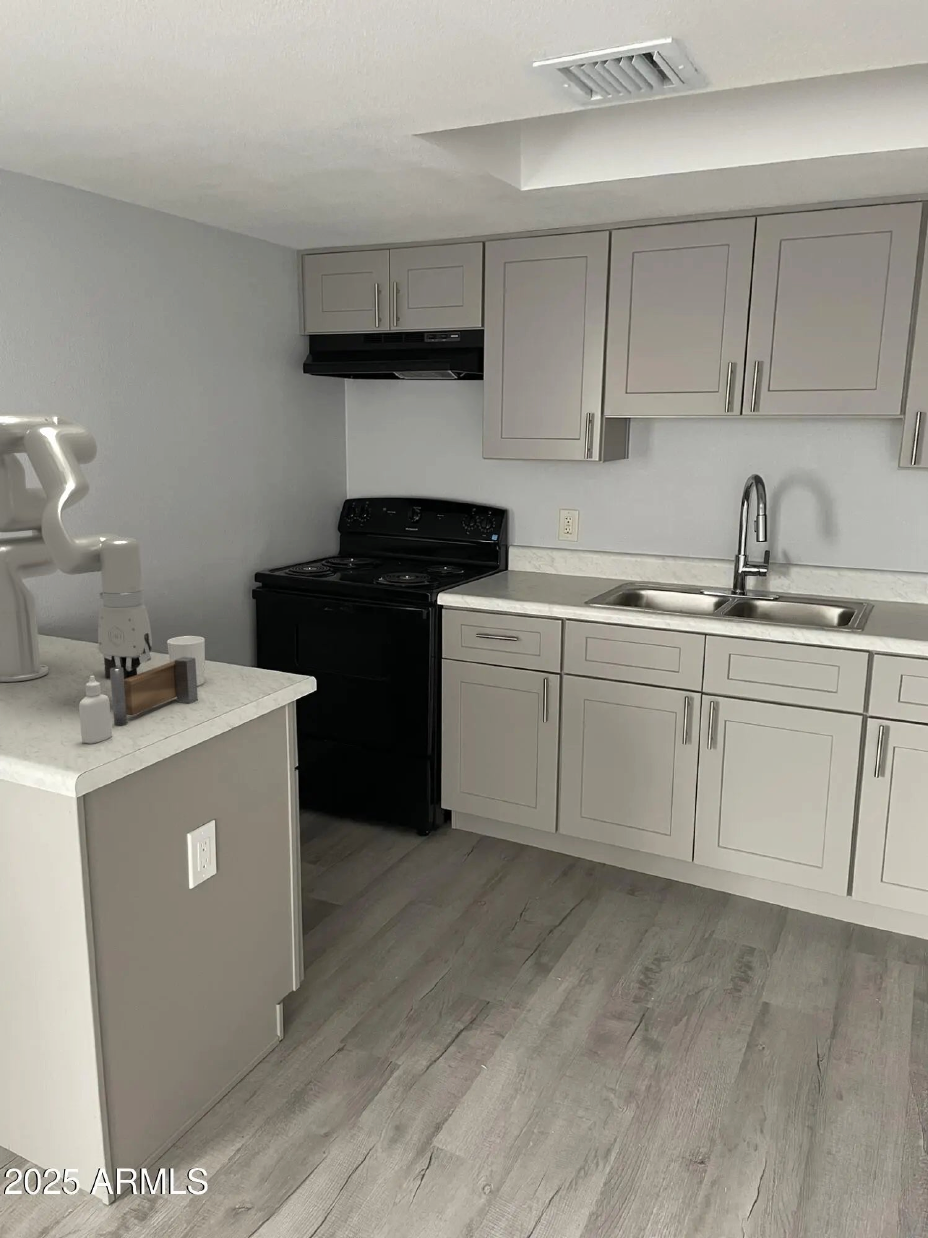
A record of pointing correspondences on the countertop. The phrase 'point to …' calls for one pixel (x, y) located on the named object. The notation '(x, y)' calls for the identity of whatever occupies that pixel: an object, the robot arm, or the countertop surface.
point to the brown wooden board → (150, 688)
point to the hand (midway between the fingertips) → (129, 687)
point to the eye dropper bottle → (95, 714)
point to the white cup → (189, 652)
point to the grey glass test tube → (118, 696)
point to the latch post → (186, 680)
